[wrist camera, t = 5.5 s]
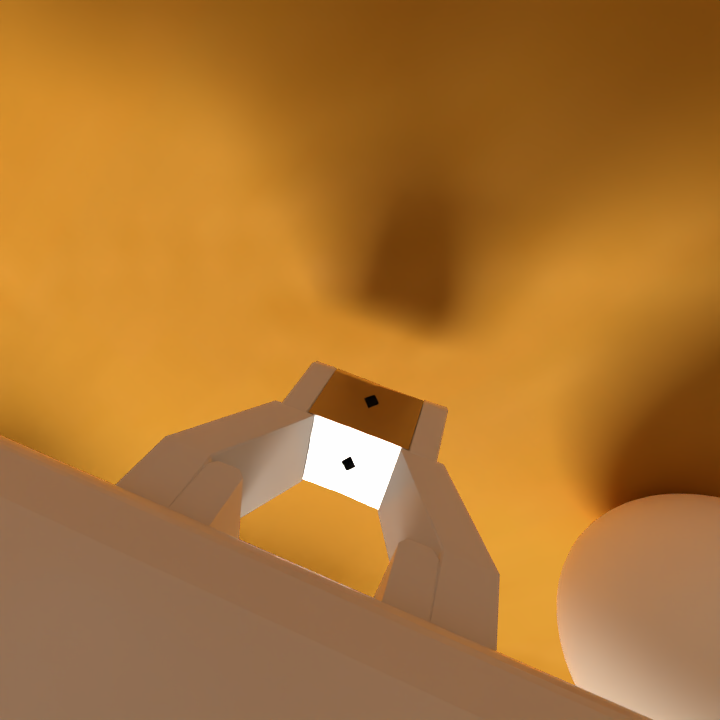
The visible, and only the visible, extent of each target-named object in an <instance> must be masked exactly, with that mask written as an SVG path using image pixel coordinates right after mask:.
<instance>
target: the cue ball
mask: <svg viewBox="0 0 720 720" xmlns="http://www.w3.org/2000/svg"><path fill="white" fill-rule="evenodd" d="M557 622H558V629H559V636H560V642H561V645H562V649H563V653H564V657H565V660H566V663H567V666H568V668H569V671H570V673H571V676H572V679H573V681H574V683H575V685H576V686H577V687H580V688H582V689H584V690H586V691H589V692H591V693H593V694H596V695H598V696H600V697H602V698H605V699H607V700H609V701H612V702H614V703H616V704H619V705H621V706H623V707H625V708H628V709H630V710H632V711H635V712H637V713H639V714H641V715H644V716H646V717H648V718H651V719H653V720H720V498H719V497H714V496H707V495H698V494H661V495H654V496H649V497H644V498H640V499H636V500H633V501H630V502H627V503H624V504H622V505H620V506H618V507H616V508H614V509H612V510H610V511H608V512H606V513H605V514H603V515H602V516H601V517H599V518H598V519H596V520H595V521H594V522H593V523H592V524H591V525H590V526H589V527H588V528H587V529H586V530H585V531H584V532H583V533H582V534H581V535H580V536H579V537H578V539H577V540H576V542H575V543H574V545H573V546H572V548H571V550H570V552H569V554H568V556H567V559H566V561H565V563H564V565H563V568H562V572H561V575H560V579H559V584H558V592H557Z"/></svg>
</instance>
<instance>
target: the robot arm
mask: <svg viewBox="0 0 720 720" xmlns="http://www.w3.org/2000/svg"><path fill="white" fill-rule="evenodd" d="M447 413H448V409H447V407H444V406H441V405H438V404H435V403H432V402H429V401H426V400H424V401H423V400H420V399H418V398H415V397H412V396H409V395H406V394H403V393H401V392H398V391H395V390H392V389H389V388H387V387H384V386H381V385H379V384H377V383H374V382H372V381H369V380H366V379H364V378H361V377H359V376H356V375H353V374H351V373H348V372H346V371H343V370H340V369H337V368H335V367H332V366H329V365H327V364H324V363H321V362H318V361H316V362H314V363H312V364H311V365H310V367H309V368H308V369H307V371H306V372H305V373H304V375H303V376H302V377H301V378H300V380H299V381H298V382H297V384H296V385H295V386H294V388H293V389H292V390H291V391H290V393H289V394H288V395H287V397H286V398H285V399H284V401H283V402H282V403H281V402H278V401H272V402H269V403H266V404H263V405H260V406H257V407H254V408H251V409H248V410H245V411H242V412H239V413H236V414H233V415H230V416H227V417H224V418H221V419H217V420H214V421H211V422H208V423H205V424H202V425H199V426H196V427H193V428H190V429H187V430H184V431H181V432H178V433H175V434H172V435H169V436H166V437H164V438H163V439H162V440H161V441H160V442H159V443H158V444H157V445H156V446H155V447H154V448H153V449H152V450H151V451H150V452H149V453H148V454H147V455H146V456H145V457H144V458H143V459H142V460H141V461H140V462H138V463H137V464H136V465H135V466H134V467H133V468H132V469H131V470H130V471H129V472H128V473H127V474H126V475H125V476H124V477H123V478H122V479H121V480H120V481H119V482H118V483H117V484H116V485H114V484H111V483H109V482H107V481H104V480H102V479H100V478H98V477H95V476H93V475H91V474H88V473H86V472H84V471H81V470H79V469H77V468H75V467H72V466H70V465H68V464H65V463H63V462H61V461H59V460H56V459H54V458H52V457H49V456H47V455H45V454H42V453H40V452H38V451H36V450H33V449H31V448H29V447H26V446H24V445H22V444H20V443H17V442H15V441H13V440H10V439H8V438H6V437H4V436H1V435H0V720H653V719H651V718H648V717H646V716H644V715H641V714H639V713H637V712H635V711H632V710H630V709H628V708H625V707H623V706H621V705H619V704H616V703H614V702H612V701H609V700H607V699H605V698H602V697H600V696H598V695H596V694H593V693H591V692H589V691H586V690H584V689H582V688H580V687H577V686H575V685H573V684H570V683H568V682H566V681H563V680H561V679H559V678H557V677H554V676H552V675H550V674H547V673H545V672H543V671H541V670H538V669H536V668H534V667H531V666H529V665H527V664H525V663H522V662H520V661H518V660H515V659H513V658H511V657H508V656H506V655H504V654H502V653H499V652H497V651H496V650H497V625H498V601H499V577H500V574H499V572H498V570H497V568H496V566H495V564H494V562H493V561H492V559H491V557H490V555H489V553H488V551H487V549H486V547H485V545H484V543H483V541H482V539H481V537H480V535H479V533H478V531H477V529H476V527H475V525H474V523H473V521H472V519H471V517H470V515H469V513H468V511H467V509H466V507H465V505H464V503H463V501H462V499H461V497H460V496H459V494H458V492H457V490H456V488H455V486H454V484H453V482H452V480H451V478H450V476H449V474H448V472H447V470H446V468H445V466H444V465H443V464H441V463H439V462H437V458H438V454H439V449H440V445H441V440H442V436H443V431H444V427H445V422H446V417H447ZM302 479H305V480H308V481H310V482H313V483H316V484H318V485H321V486H324V487H326V488H329V489H332V490H334V491H337V492H340V493H342V494H344V495H347V496H349V497H351V498H354V499H356V500H358V501H360V502H363V503H365V504H367V505H370V506H372V507H374V508H377V509H378V514H379V519H380V523H381V527H382V531H383V535H384V540H385V544H386V548H387V552H388V557H389V561H390V563H389V565H388V567H387V569H386V572H385V574H384V576H383V578H382V580H381V583H380V585H379V587H378V589H377V591H376V594H375V596H374V598H373V597H370V596H368V595H366V594H363V593H361V592H359V591H356V590H354V589H352V588H350V587H347V586H345V585H343V584H340V583H338V582H336V581H333V580H331V579H329V578H327V577H324V576H322V575H320V574H317V573H315V572H313V571H310V570H308V569H306V568H304V567H301V566H299V565H297V564H294V563H292V562H290V561H288V560H285V559H283V558H281V557H278V556H276V555H274V554H272V553H269V552H267V551H265V550H262V549H260V548H258V547H256V546H253V545H251V544H249V543H246V542H244V541H242V540H240V539H239V529H240V518H241V517H243V516H245V515H246V514H248V513H250V512H251V511H253V510H254V509H256V508H258V507H259V506H261V505H263V504H264V503H266V502H268V501H269V500H271V499H273V498H274V497H276V496H278V495H279V494H281V493H283V492H284V491H286V490H288V489H289V488H291V487H293V486H294V485H296V484H297V483H299V482H301V481H302Z"/></svg>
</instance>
